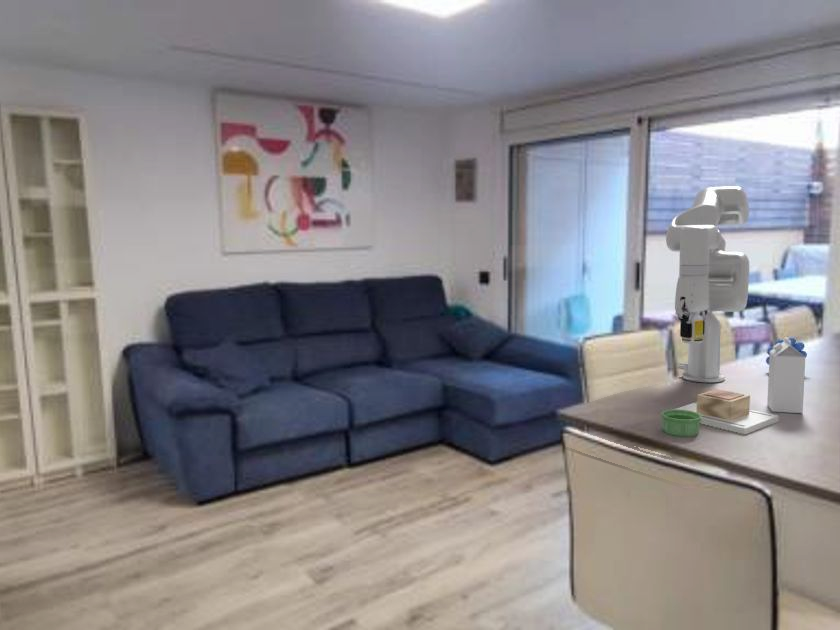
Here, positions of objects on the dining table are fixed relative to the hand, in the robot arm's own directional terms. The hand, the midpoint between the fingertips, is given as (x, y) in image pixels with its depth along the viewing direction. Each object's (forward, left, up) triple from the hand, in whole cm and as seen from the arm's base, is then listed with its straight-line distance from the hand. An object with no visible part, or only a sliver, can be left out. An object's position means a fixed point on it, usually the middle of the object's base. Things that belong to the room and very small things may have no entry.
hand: (692, 335), depth 179 cm
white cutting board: (+15, -10, -19) cm, 26 cm away
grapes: (+1, +54, -19) cm, 57 cm away
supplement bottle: (0, 0, -2) cm, 2 cm away
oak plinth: (+15, -10, -17) cm, 25 cm away
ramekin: (+14, -27, -19) cm, 36 cm away
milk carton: (+21, +10, -19) cm, 30 cm away
